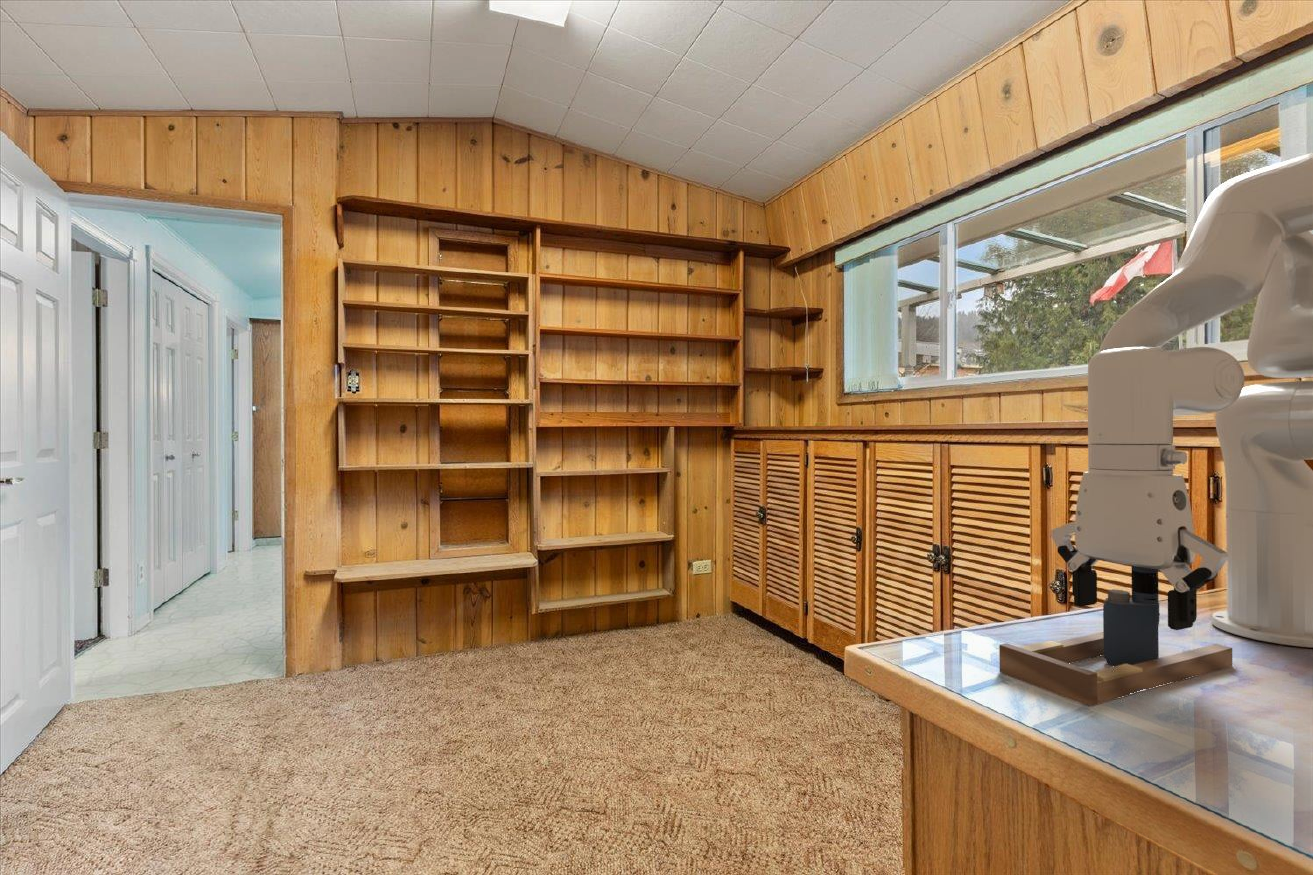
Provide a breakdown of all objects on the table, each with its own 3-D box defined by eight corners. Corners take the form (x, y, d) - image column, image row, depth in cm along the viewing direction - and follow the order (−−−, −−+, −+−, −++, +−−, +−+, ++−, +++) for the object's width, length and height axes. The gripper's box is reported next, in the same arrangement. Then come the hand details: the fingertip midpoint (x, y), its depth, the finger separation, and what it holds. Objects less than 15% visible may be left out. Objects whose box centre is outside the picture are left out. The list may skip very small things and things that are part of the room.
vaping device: (1165, 671, 68) (1164, 560, 68) (1110, 668, 69) (1109, 558, 69) (1152, 662, 71) (1150, 555, 71) (1099, 659, 72) (1098, 554, 72)
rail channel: (1137, 640, 78) (1137, 616, 78) (1232, 666, 69) (1232, 638, 69) (999, 672, 69) (999, 644, 69) (1089, 706, 60) (1089, 674, 60)
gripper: (1246, 463, 63) (1246, 633, 63) (1073, 457, 79) (1074, 594, 79) (1202, 464, 60) (1203, 643, 60) (1032, 459, 76) (1033, 600, 76)
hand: (1130, 615), depth 70 cm, fingers open, 9 cm apart
